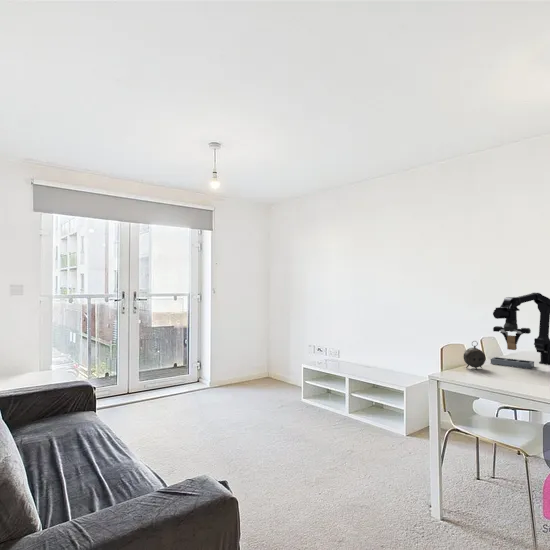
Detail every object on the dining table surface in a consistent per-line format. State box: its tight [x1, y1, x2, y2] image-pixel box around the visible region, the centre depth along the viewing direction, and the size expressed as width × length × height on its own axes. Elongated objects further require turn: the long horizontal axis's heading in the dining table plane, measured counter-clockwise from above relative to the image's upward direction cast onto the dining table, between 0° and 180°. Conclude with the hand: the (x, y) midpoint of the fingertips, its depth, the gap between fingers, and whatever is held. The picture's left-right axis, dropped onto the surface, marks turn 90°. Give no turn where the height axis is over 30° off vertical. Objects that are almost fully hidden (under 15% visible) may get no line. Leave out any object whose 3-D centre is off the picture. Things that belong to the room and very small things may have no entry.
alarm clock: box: [463, 340, 487, 370], centre depth 224 cm, size 11×5×16 cm, turn 84°
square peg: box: [506, 334, 518, 351], centre depth 234 cm, size 4×4×8 cm
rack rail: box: [490, 356, 535, 370], centre depth 234 cm, size 21×9×3 cm, turn 46°
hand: (511, 344), depth 234 cm, fingers closed on square peg, 4 cm apart
